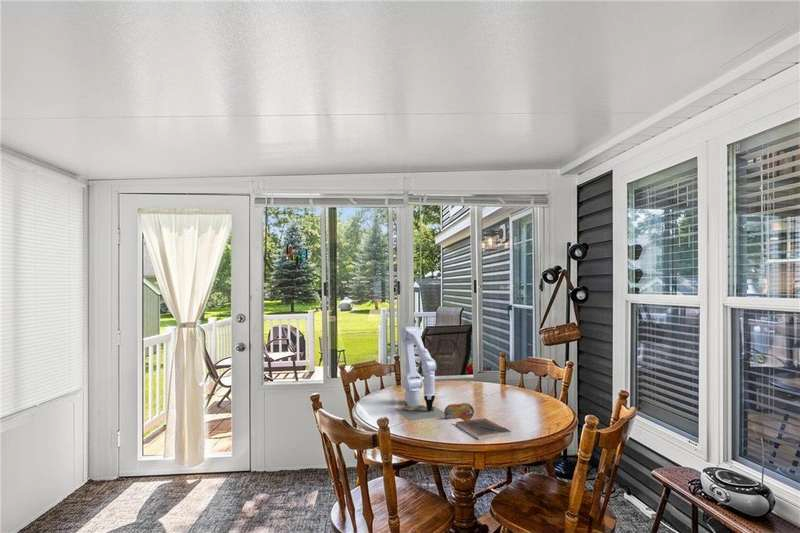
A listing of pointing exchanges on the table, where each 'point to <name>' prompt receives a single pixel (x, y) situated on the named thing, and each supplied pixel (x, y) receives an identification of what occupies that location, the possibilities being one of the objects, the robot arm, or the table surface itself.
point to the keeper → (416, 403)
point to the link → (411, 407)
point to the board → (421, 413)
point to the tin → (459, 411)
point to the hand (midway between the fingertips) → (429, 410)
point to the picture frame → (483, 428)
